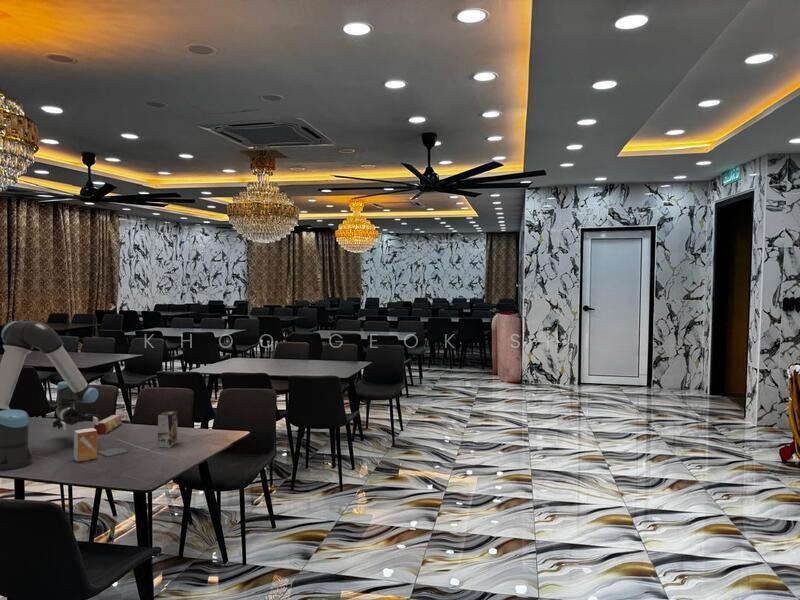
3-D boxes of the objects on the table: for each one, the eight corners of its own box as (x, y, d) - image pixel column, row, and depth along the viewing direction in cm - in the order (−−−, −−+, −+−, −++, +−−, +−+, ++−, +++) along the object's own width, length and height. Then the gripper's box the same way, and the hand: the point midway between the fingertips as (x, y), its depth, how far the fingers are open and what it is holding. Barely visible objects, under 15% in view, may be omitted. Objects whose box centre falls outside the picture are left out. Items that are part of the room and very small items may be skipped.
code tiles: (84, 461, 253) (84, 460, 253) (78, 458, 257) (78, 458, 257) (92, 459, 256) (92, 459, 256) (86, 456, 260) (86, 456, 260)
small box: (77, 462, 251) (77, 433, 251) (73, 458, 256) (73, 430, 256) (97, 458, 257) (97, 430, 257) (93, 455, 262) (93, 427, 261)
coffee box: (170, 447, 276) (170, 415, 276) (157, 447, 276) (157, 414, 276) (177, 442, 285) (178, 411, 285) (165, 442, 285) (165, 410, 285)
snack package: (110, 425, 319) (110, 413, 319) (122, 425, 319) (122, 413, 319) (93, 435, 298) (93, 422, 297) (106, 435, 298) (106, 422, 298)
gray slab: (107, 457, 259) (107, 456, 259) (97, 453, 265) (97, 451, 265) (128, 452, 267) (128, 451, 267) (118, 448, 273) (118, 447, 273)
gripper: (98, 419, 288) (110, 427, 273) (41, 427, 271) (50, 437, 256) (98, 404, 288) (110, 412, 272) (41, 412, 271) (50, 421, 255)
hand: (81, 424), depth 264 cm, fingers open, 13 cm apart
